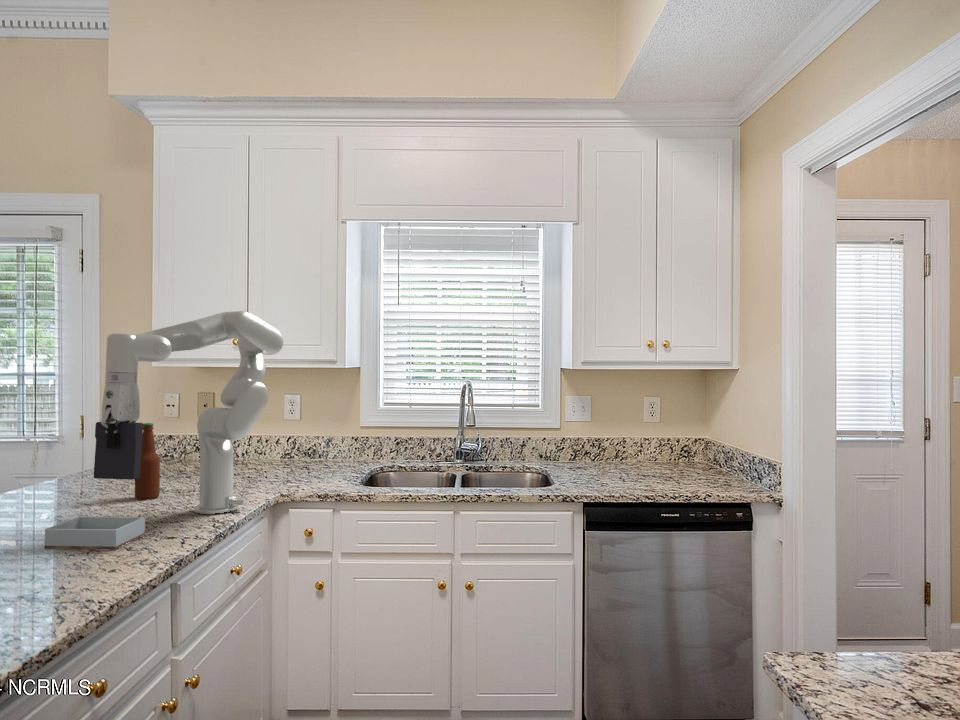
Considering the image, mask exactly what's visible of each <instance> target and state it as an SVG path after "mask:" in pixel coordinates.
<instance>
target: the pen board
mask: <svg viewBox="0 0 960 720" xmlns="http://www.w3.org/2000/svg"><path fill="white" fill-rule="evenodd" d="M143 535H145V536H146V532H145V533H143V534H141V535H139V536H137V537H135V538H133V539H131V540H129V541H127V542H125V543H123V544H121V545H118V546H116V547H102V546H45V545H44V550H82V549H117V548H119V547H121V546H122V545H125V544H126V543H128V542H131V541H133V540H135V539H137V538H139V537H141V536H143ZM143 537H144V536H143ZM141 538H142V537H141ZM139 539H140V538H139ZM137 540H138V539H137ZM135 541H136V540H135ZM133 542H134V541H133ZM131 543H132V542H131ZM125 546H126V545H125ZM121 548H122V547H121ZM119 549H120V548H119ZM117 550H118V549H117Z"/></svg>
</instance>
